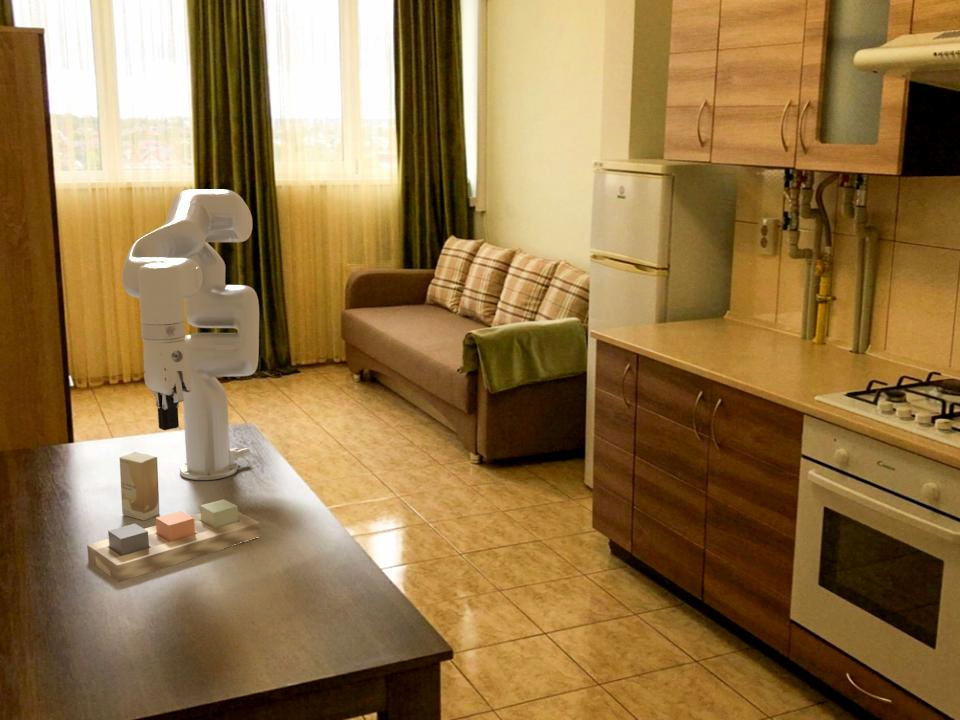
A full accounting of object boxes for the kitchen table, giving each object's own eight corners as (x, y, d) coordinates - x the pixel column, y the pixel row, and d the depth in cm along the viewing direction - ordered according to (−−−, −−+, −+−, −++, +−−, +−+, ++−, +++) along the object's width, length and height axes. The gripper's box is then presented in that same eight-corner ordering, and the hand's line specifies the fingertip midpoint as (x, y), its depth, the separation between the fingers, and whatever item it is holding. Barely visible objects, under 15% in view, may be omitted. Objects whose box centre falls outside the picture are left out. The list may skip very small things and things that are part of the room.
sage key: (224, 517, 197) (223, 499, 196) (238, 525, 193) (237, 506, 192) (201, 524, 193) (200, 505, 193) (214, 532, 190) (213, 512, 189)
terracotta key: (181, 530, 191) (180, 510, 190) (195, 537, 187) (194, 518, 186) (156, 537, 187) (155, 517, 186) (170, 545, 184) (168, 525, 183)
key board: (227, 520, 201) (226, 505, 201) (260, 537, 193) (259, 522, 192) (88, 560, 182) (87, 544, 182) (118, 581, 174) (117, 565, 173)
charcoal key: (136, 543, 185) (134, 523, 184) (149, 551, 181) (148, 531, 180) (109, 550, 181) (108, 530, 180) (122, 559, 178) (120, 539, 177)
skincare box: (121, 515, 203) (117, 456, 201) (138, 508, 207) (134, 450, 204) (145, 521, 200) (141, 462, 198) (161, 514, 204) (157, 456, 201)
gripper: (202, 334, 183) (207, 432, 187) (162, 323, 194) (168, 416, 198) (163, 339, 178) (169, 440, 182) (125, 328, 189) (131, 423, 193)
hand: (168, 428), depth 190 cm, fingers closed
